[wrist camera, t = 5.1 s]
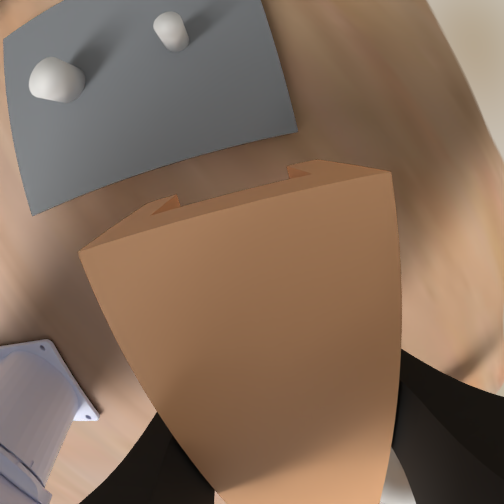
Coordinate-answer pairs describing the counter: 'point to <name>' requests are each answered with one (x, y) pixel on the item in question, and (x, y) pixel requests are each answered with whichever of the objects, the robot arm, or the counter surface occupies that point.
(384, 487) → the donut
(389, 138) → the counter surface
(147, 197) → the counter surface
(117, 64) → the post board
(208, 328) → the rectangular block
